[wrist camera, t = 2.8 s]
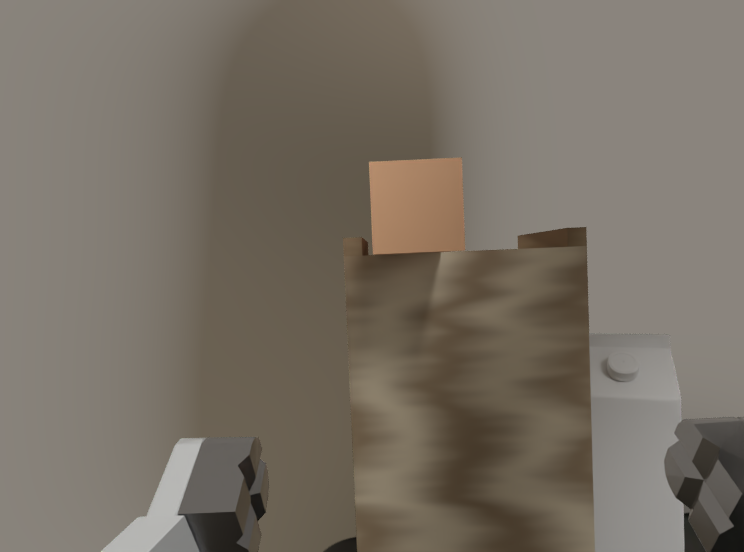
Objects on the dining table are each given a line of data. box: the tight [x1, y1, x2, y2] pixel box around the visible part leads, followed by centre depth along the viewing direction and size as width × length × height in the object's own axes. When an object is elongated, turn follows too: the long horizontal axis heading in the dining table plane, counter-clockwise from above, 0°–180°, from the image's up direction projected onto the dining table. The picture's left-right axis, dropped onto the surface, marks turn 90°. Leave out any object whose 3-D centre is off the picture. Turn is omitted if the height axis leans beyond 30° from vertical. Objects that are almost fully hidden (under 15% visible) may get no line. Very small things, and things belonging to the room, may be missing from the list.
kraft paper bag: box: [343, 227, 595, 552], centre depth 33 cm, size 13×10×27 cm
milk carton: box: [589, 334, 684, 552], centre depth 40 cm, size 7×7×19 cm
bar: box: [369, 158, 465, 255], centre depth 30 cm, size 4×22×4 cm, turn 179°
